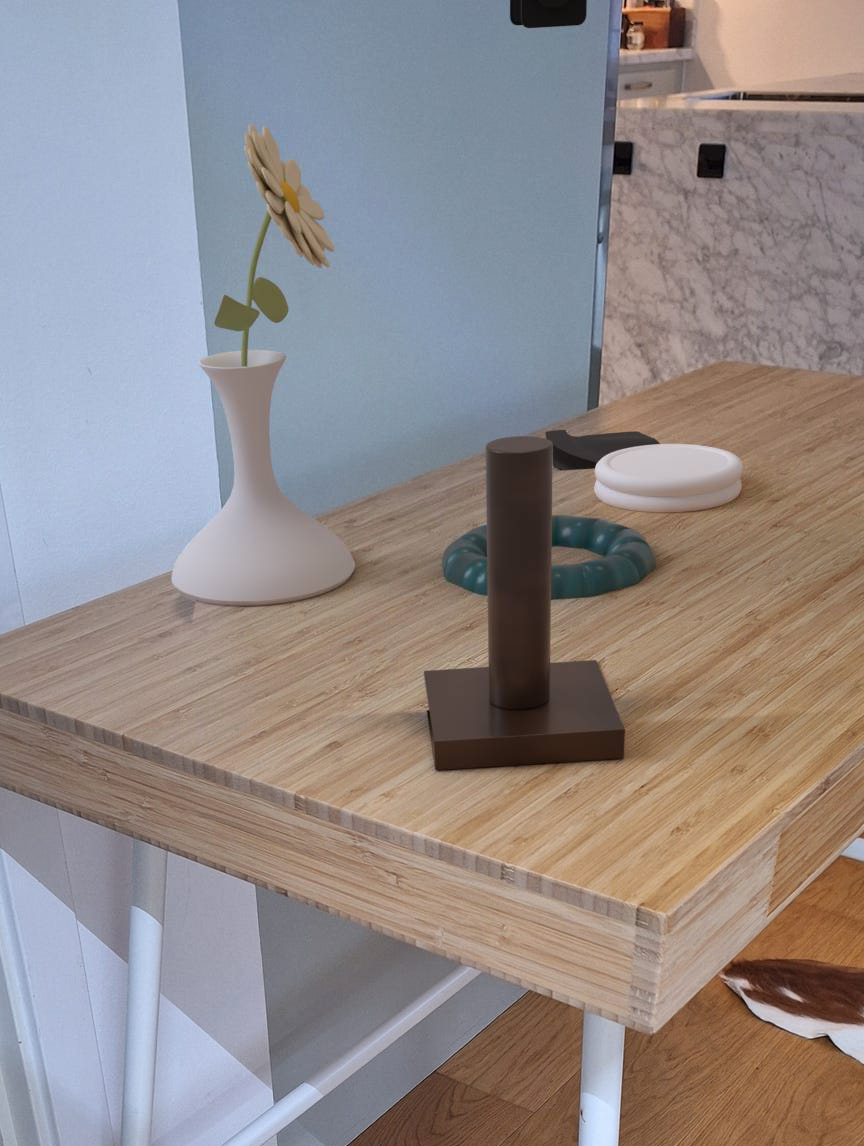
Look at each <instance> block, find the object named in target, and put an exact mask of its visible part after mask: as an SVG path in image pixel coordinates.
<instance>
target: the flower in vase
mask: <svg viewBox="0 0 864 1146" xmlns="http://www.w3.org/2000/svg"><path fill="white" fill-rule="evenodd" d="M247 128H248V129H247V130H248V132H245V133H244V142H245V145H244V146H243V147H244V148H243V149H244V153H245V156H246V158H247V161H248V162H247V166H248V169H249V172H250V174H251V175H252V178H253V180H254V181H255V185H256V188H257V190H258V192H259V194H260V197H261V198H262V200H263V201H264V202H265V203H266V213H265V215H264V218H263V221H262V223H261V227H260V229H259V232H258V236H257V239H256V243H255V246H254V249H253V252H252V256H251V261H250V266H249V273H248V280H247V290H246V299H245V304H244V303H241V302H239V301H237V300H235V299H233V298H232V297H231V296H229V295H227V294H223V297H222V299H221V303H220V306H219V308H218V311H217V314H216V317H215V319H214V322H213V324H214V326H215V327H217V328H220V329H225V330H230V331H234V332H242V337H241V350H233V351H226V352H219V353H215V354H211V355H208V356H204V357H203V358H201V359H199V360H198V365H199V367H200V369H202V371H203V372H204V373H205V374H206V376H207V377H208V378H209V380H210V381H211V383H212V384H213V386H214V388H215V390H216V392H217V394H218V396H219V399H220V401H221V404H222V407H223V411H224V413H225V417H226V421H227V426H228V431H229V435H230V442H231V449H232V458H233V471H234V472H233V486H232V489H231V493H230V496H229V498H228V499H227V500H226V503H225V504H224V506H222V508H220V510H219V511H218V512H217V513H216V514H215V515H214V516H213V517H212V518H211V520H209V521H208V522H207V523H206V524H205V525H204V527H202V528H201V529H200V531H198V532H197V534H196V535H195V536H194V537H193V538H192V539H191V540H190V541H189V542H188V543H187V544H186V546H185V547H184V548H183V550H182V552H180V554H179V556H178V557H177V558H176V560H175V562H174V564H173V568H172V572H171V576H170V577H171V583H172V585H173V586H174V587H175V588H176V590H177V591H178V593H180V595H182V597H184V598H185V599H186V600H188V601H191V602H193V603H197V602H201V603H206V604H212V605H217V606H230V607H231V606H233V607H256V606H257V607H258V606H269V605H278V604H286V603H292V602H298V601H302V600H306V599H310V598H314V597H317V596H320V595H323V594H325V593H328V592H331V591H333V590H335V589H337V588H339V587H340V586H342V585H343V584H345V583H346V582H347V581H348V580H349V579H350V578H351V576H352V575H353V573H354V571H355V568H356V562H355V560H354V557H353V556H352V553H351V551H350V549H349V547H348V546H347V545H346V544H345V543H344V542H343V541H342V540H341V539H340V538H339V537H338V536H337V535H336V534H335V533H334V532H333V531H331V530H330V529H329V528H328V527H326V526H325V525H323V524H322V523H321V522H319V521H318V520H317V519H315V518H314V517H312V516H311V515H310V514H308V513H307V512H306V511H303V510H302V509H301V508H300V507H298V506H297V505H296V504H294V503H293V502H292V501H291V500H290V499H288V498H287V497H286V495H285V494H284V493H283V492H282V491H281V489H280V487H279V485H278V483H277V481H276V477H275V473H274V470H273V462H272V454H271V440H270V439H271V437H270V415H271V405H272V394H273V391H274V387H275V384H276V383H275V382H276V380H277V377H278V375H279V372H280V370H281V369H282V367H283V365H284V363H285V361H286V359H287V355H286V354H285V353H284V352H281V351H276V350H270V349H269V350H268V349H249V334H250V328H251V327H252V326H253V325H254V324H255V322H256V321H257V319H258V318H259V316H260V314H261V313H262V314H263V316H265V317H266V318H267V319H268V321H269V320H270V321H271V322H272V323H274V324H278V323H281V322H282V321H284V320H285V318H286V317H287V316H288V313H289V304H288V302H287V299H286V297H285V295H284V292H283V291H282V290H281V288H280V287H279V286H278V284H277V285H276V284H275V283H274V282H273V281H271V280H270V279H268V278H266V277H263V276H258V277H257V278H256V279H255V277H256V271H257V266H258V261H259V258H260V254H261V251H262V247H263V245H264V240H265V238H266V234H267V232H268V229H269V226H270V224H271V221H273V222H274V223H275V225H277V227H278V228H279V231H280V232H281V234H282V235H283V236H284V238H285V239H286V240H287V241H288V242H289V244H290V246H291V247H292V249H293V250H294V252H295V253H296V254H297V255H298V256H299V257H300V258H303V257H304V259H305V260H306V262H308V263H309V264H310V265H311V266H314V265H315V266H316V267H317V268H319V269H323V266H325V267H326V268H330V262H329V260H328V259H327V257H326V255H325V251H326V250H327V251H329V252H332V253H333V252H335V246H334V244H333V242H332V240H331V239H330V238H329V235H328V232H327V231H326V230H325V228H324V227H323V226H322V225H321V224H319V222H317V221H323V220H324V218H325V212H324V210H323V207H321V206H322V205H320V204H319V202H317V201H316V200H315V199H312V196H311V193H310V191H309V189H308V188H307V187H306V186H305V185H304V184H301V182H302V171H301V169H300V167H299V164H298V163H297V162H296V160H295V159H293V158H289V159H288V160H287V161H286V162H285V161H283V160H281V155H280V151H279V147H278V144H277V142H276V141H275V139H274V137H273V134H272V132H271V130H270V129H269V128H268V126H266V125H264V126H263V127H262V129H261V130H262V131H261V132H262V133H261V134H259V133H258V130H257V128H256V127H255V125H254V124H252V123H249V124H248V127H247ZM253 301H254V303H255V305H256V307H257V309H256V308H254V307H252V304H253ZM258 309H259V310H258Z"/></svg>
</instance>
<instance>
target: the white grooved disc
mask: <svg viewBox="0 0 864 1146" xmlns="http://www.w3.org/2000/svg"><path fill="white" fill-rule="evenodd" d="M743 473H744V465H743V461H742V460H741V459H740V458H739V457H738V456H737V455H736V454H735V453H733V452H731V451H729V450H726V449H722V448H718V447H714V446H707V445H706V446H705V445H701V444H700V445H699V444H691V443H690V444H689V443H688V444H687V443H660V444H655V445H644V446H636V447H631V448H626V449H621V450H618V451H615V452H612V453H610V454H607V455H606V456H604V457H603V458H602V459H601V460H600V461H598V463H597V464H596V467H595V469H594V476H595V479H596V480H595V483H594V485H593V490H594V495H595V497H596V498H597V499H598V500H599V501H600V502H602V503H604V504H605V505H608V506H611V507H615V508H618V509H622V510H627V511H634V512H643V513H657V514H659V513H661V514H665V513H666V514H667V513H668V514H669V513H673V514H674V513H687V512H688V513H689V512H697V511H704V510H709V509H713V508H714V509H715V508H717V507H720V506H723V505H727V504H728V503H730V502H732V501H734V500H735V499H737V498H738V497H739V495H740V494H741V490H742V489H743V484H742V480H741V477H742V475H743Z"/></svg>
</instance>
